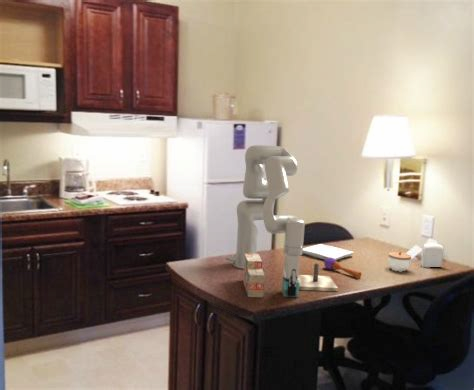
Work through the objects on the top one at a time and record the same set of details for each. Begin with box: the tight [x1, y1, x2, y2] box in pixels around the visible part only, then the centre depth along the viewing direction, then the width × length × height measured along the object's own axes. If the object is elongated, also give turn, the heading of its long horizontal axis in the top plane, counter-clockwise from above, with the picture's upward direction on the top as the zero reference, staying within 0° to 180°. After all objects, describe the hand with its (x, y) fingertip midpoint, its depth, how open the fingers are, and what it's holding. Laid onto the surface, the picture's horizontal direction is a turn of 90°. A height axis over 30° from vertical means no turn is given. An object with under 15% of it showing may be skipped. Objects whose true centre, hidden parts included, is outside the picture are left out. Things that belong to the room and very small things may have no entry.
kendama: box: [323, 257, 362, 280], centre depth 236 cm, size 6×6×20 cm
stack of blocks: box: [242, 253, 266, 298], centre depth 206 cm, size 21×6×12 cm, turn 5°
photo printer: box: [420, 242, 444, 268], centre depth 255 cm, size 10×4×12 cm, turn 89°
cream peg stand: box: [298, 262, 339, 292], centre depth 216 cm, size 16×16×10 cm
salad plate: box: [303, 243, 355, 261], centre depth 266 cm, size 21×21×3 cm
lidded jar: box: [387, 251, 412, 273], centre depth 246 cm, size 11×11×9 cm
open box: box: [281, 276, 300, 298], centre depth 202 cm, size 6×6×6 cm
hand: (290, 292), depth 202 cm, fingers open, 6 cm apart
